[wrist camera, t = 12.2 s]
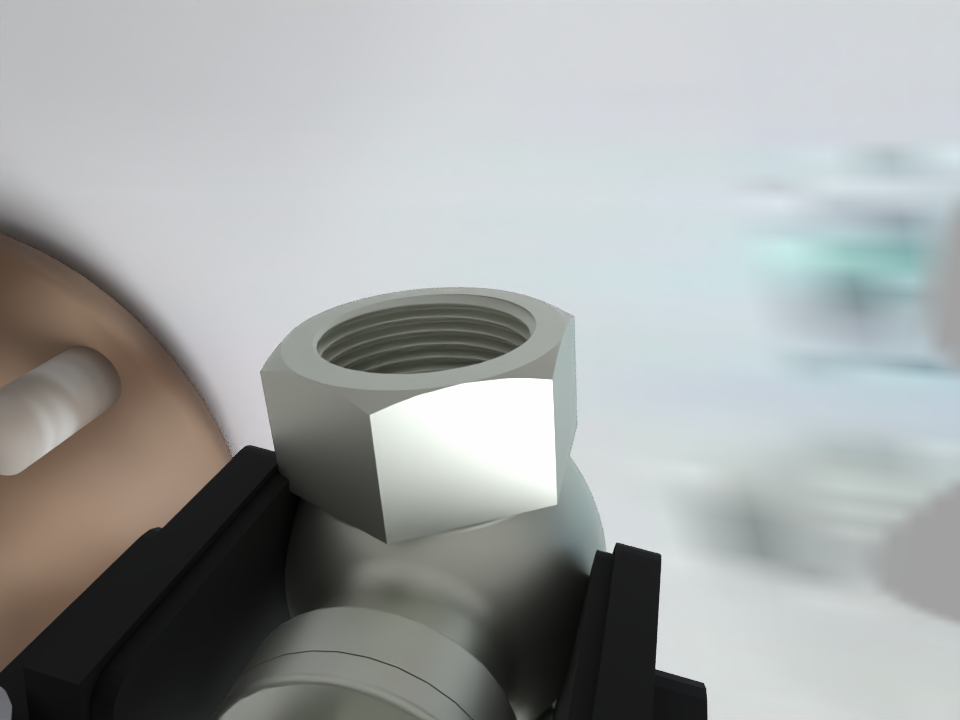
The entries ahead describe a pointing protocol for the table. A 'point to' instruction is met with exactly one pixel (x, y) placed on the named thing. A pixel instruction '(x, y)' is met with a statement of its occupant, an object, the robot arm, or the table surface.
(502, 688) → the valve
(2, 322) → the turntable platter
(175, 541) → the robot arm
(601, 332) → the table surface
